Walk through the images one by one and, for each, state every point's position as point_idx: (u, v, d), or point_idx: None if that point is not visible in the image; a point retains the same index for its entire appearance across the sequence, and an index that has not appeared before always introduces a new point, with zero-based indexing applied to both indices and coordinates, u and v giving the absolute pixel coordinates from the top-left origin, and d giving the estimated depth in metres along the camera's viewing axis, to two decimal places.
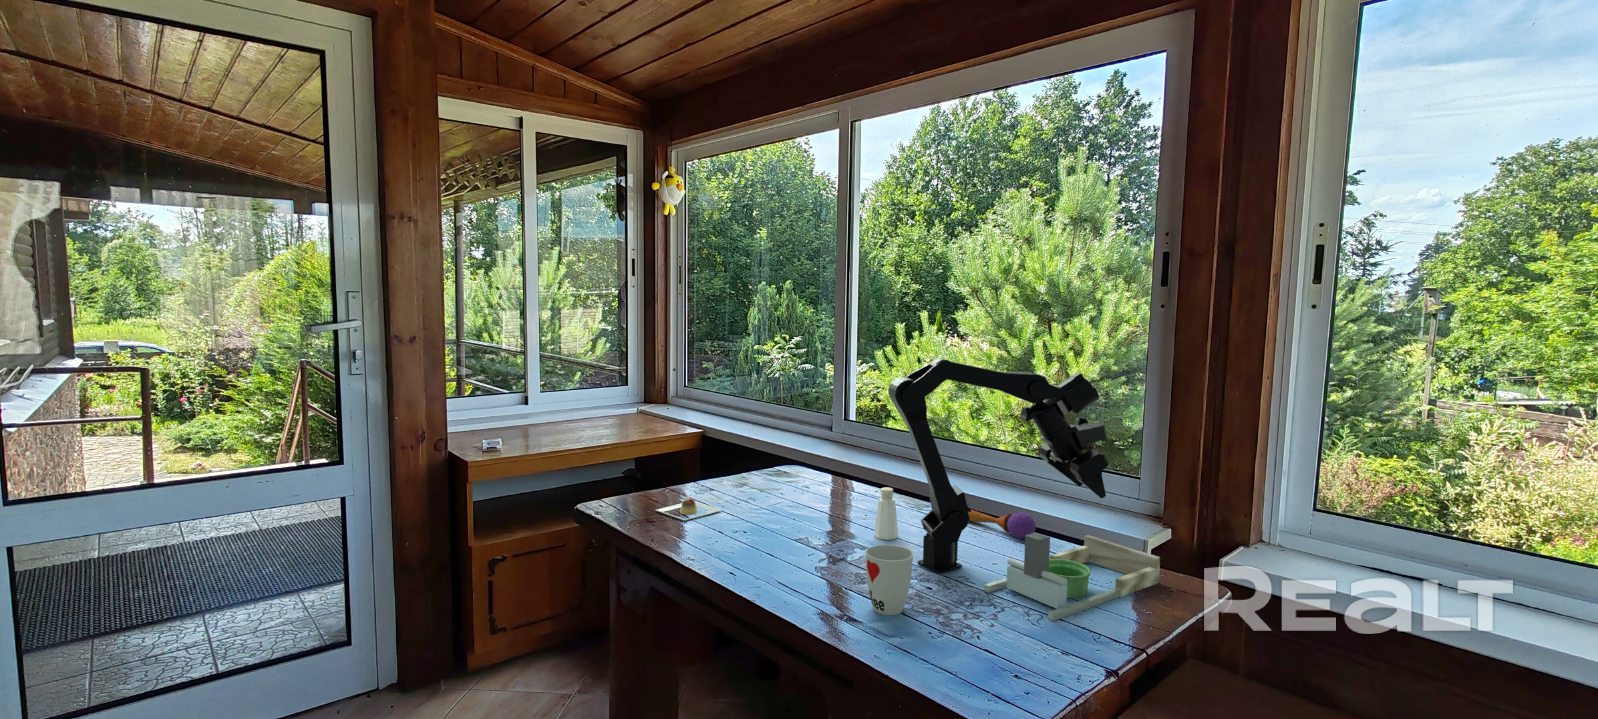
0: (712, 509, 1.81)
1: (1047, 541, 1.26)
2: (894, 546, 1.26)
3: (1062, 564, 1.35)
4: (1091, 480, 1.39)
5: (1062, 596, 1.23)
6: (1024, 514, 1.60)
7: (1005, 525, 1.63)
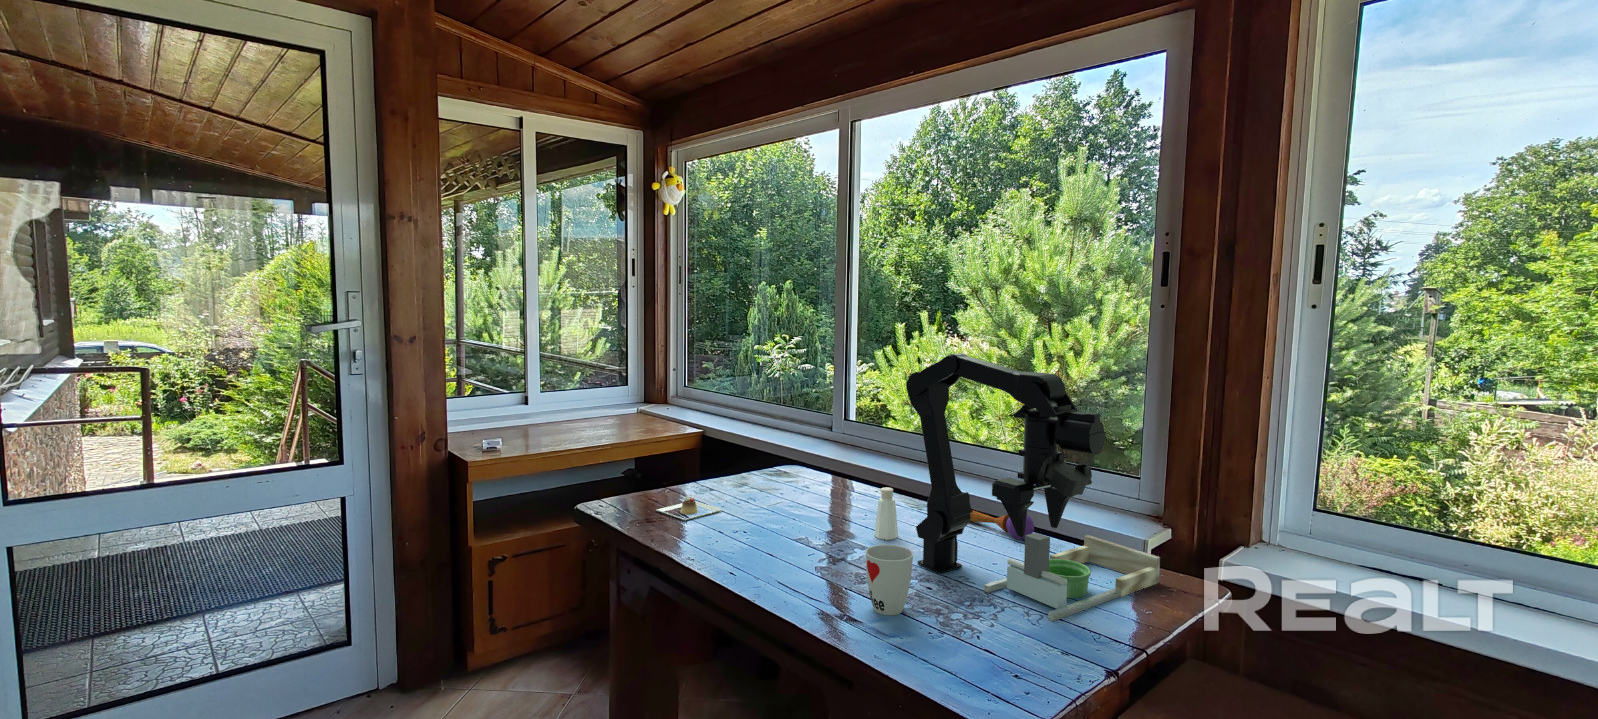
0: (712, 509, 1.81)
1: (1047, 541, 1.26)
2: (894, 546, 1.26)
3: (1062, 564, 1.35)
4: (1014, 509, 1.24)
5: (1062, 596, 1.23)
6: None
7: (1004, 525, 1.63)
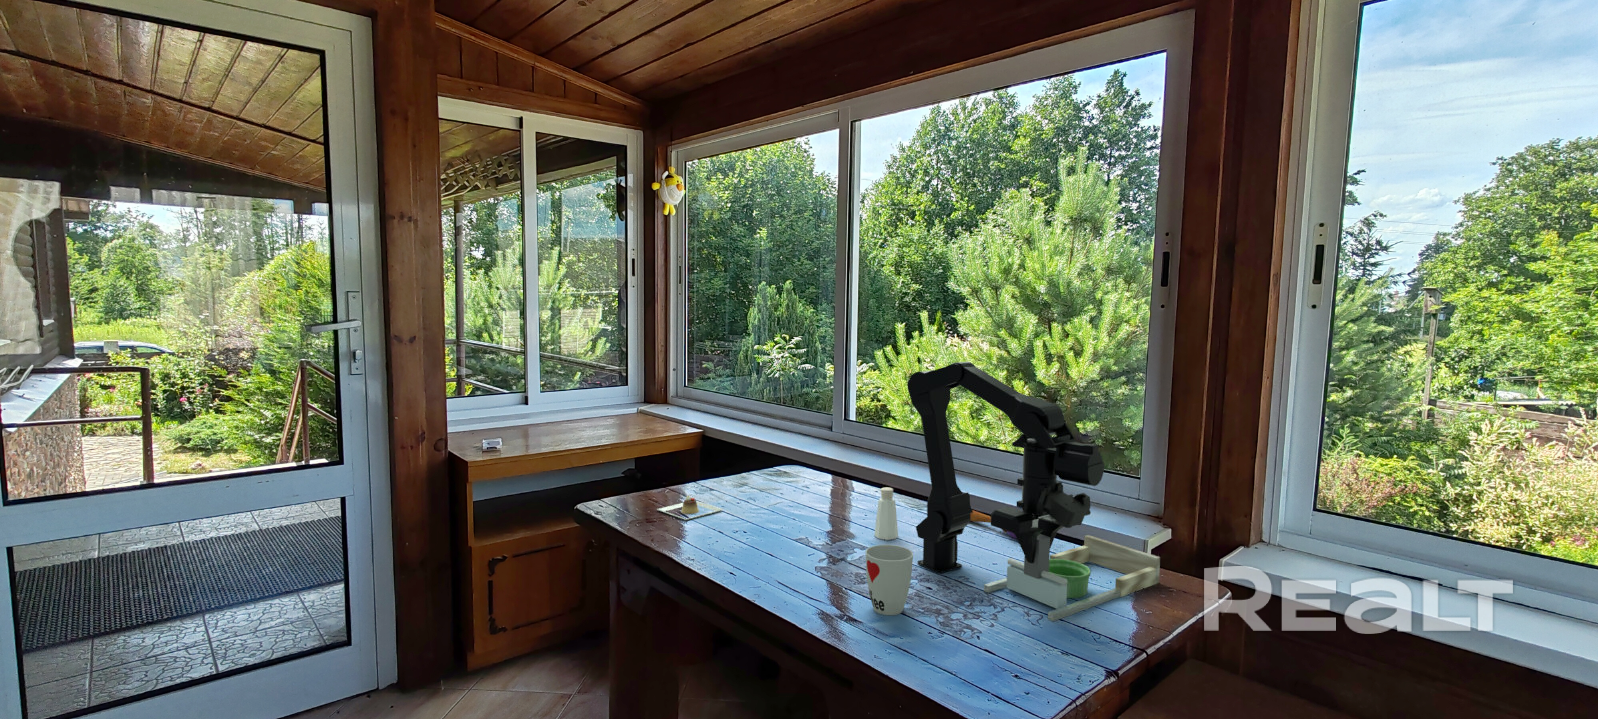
0: (713, 508, 1.81)
1: (1047, 541, 1.26)
2: (894, 546, 1.26)
3: (1062, 564, 1.35)
4: (1024, 536, 1.26)
5: (1062, 596, 1.23)
6: None
7: None
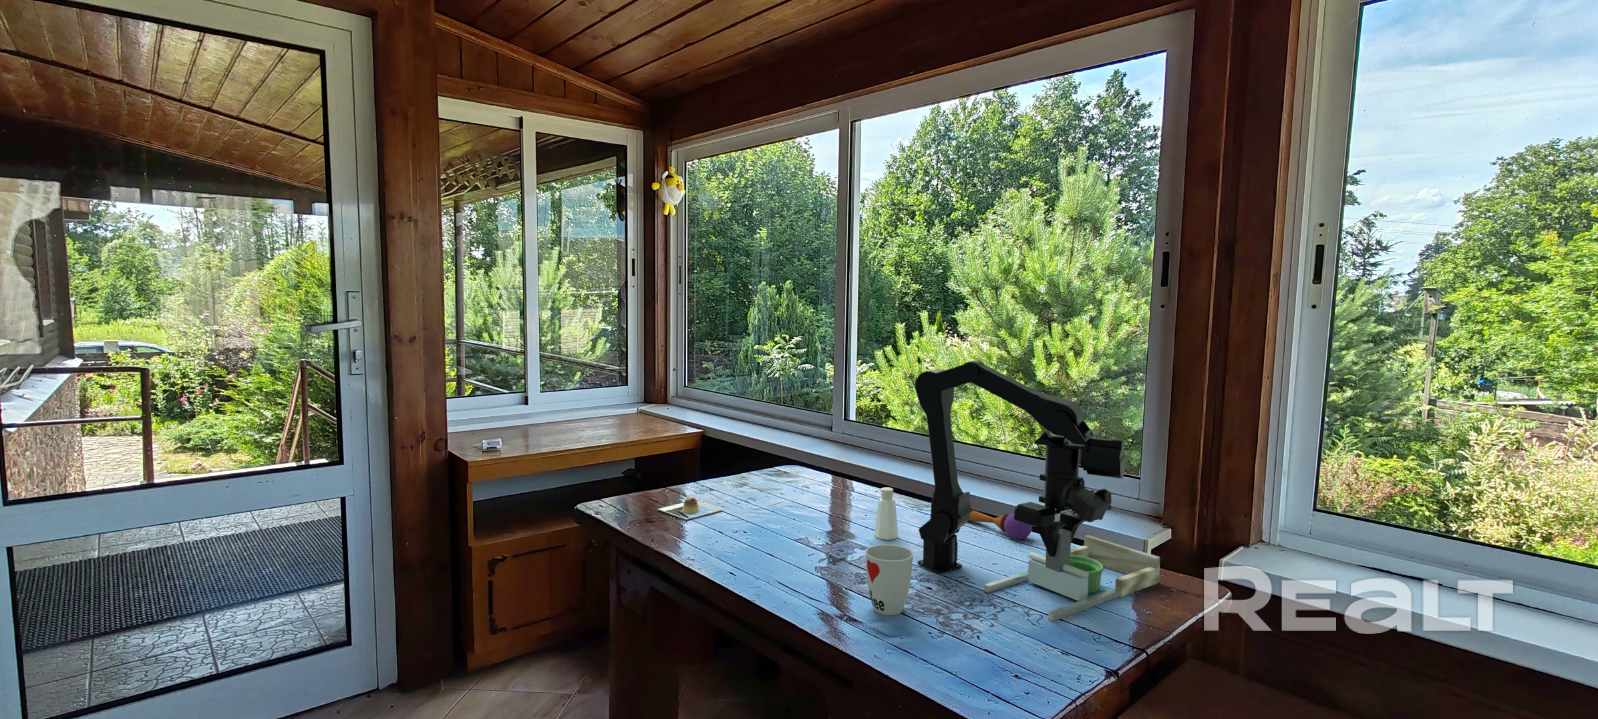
0: (714, 508, 1.82)
1: (1068, 535, 1.29)
2: (894, 546, 1.26)
3: (1075, 560, 1.37)
4: (1045, 530, 1.29)
5: (1083, 588, 1.26)
6: None
7: (1002, 525, 1.63)
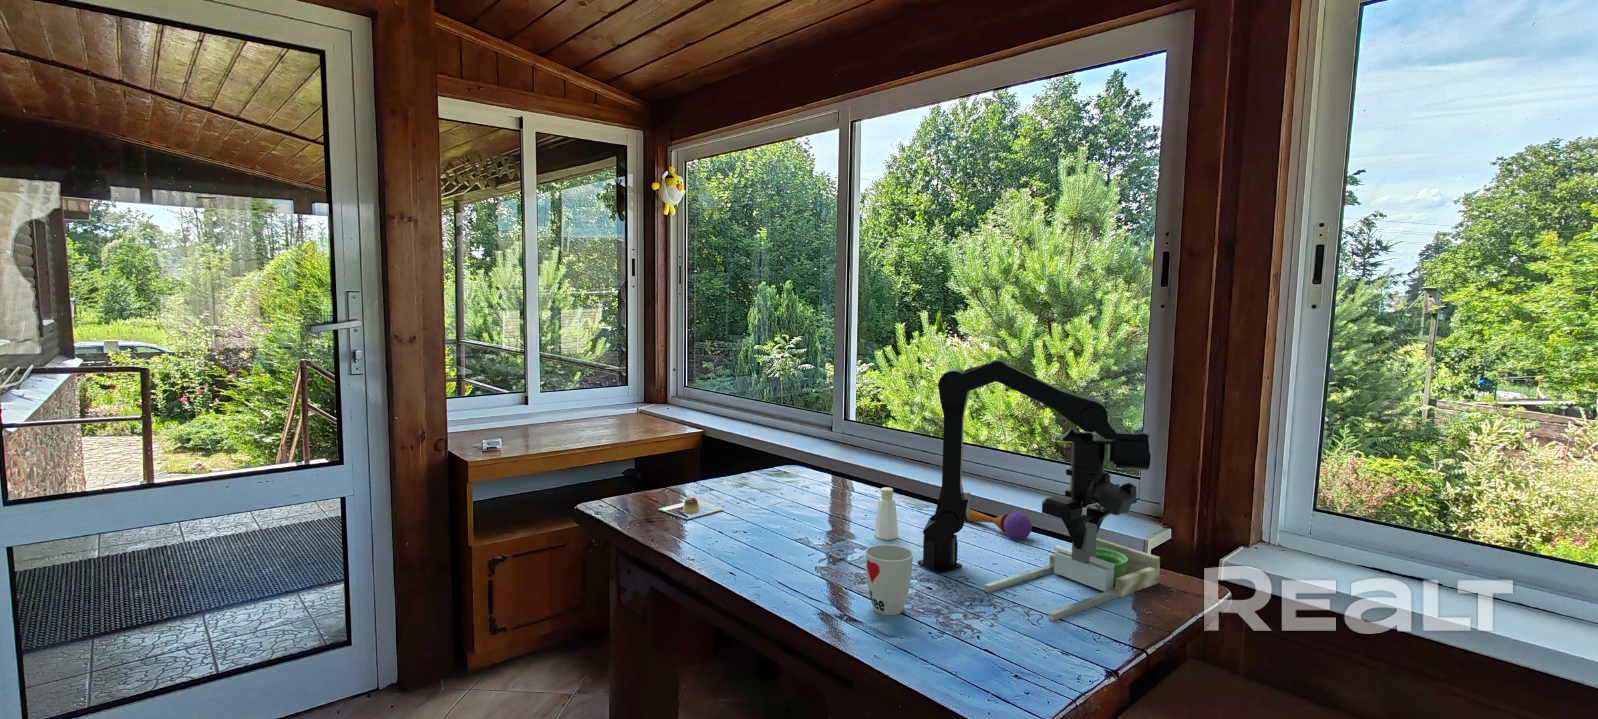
0: (714, 508, 1.82)
1: (1094, 528, 1.33)
2: (894, 546, 1.26)
3: (1100, 553, 1.41)
4: (1072, 523, 1.33)
5: (1109, 579, 1.30)
6: (1020, 514, 1.60)
7: (1002, 525, 1.63)
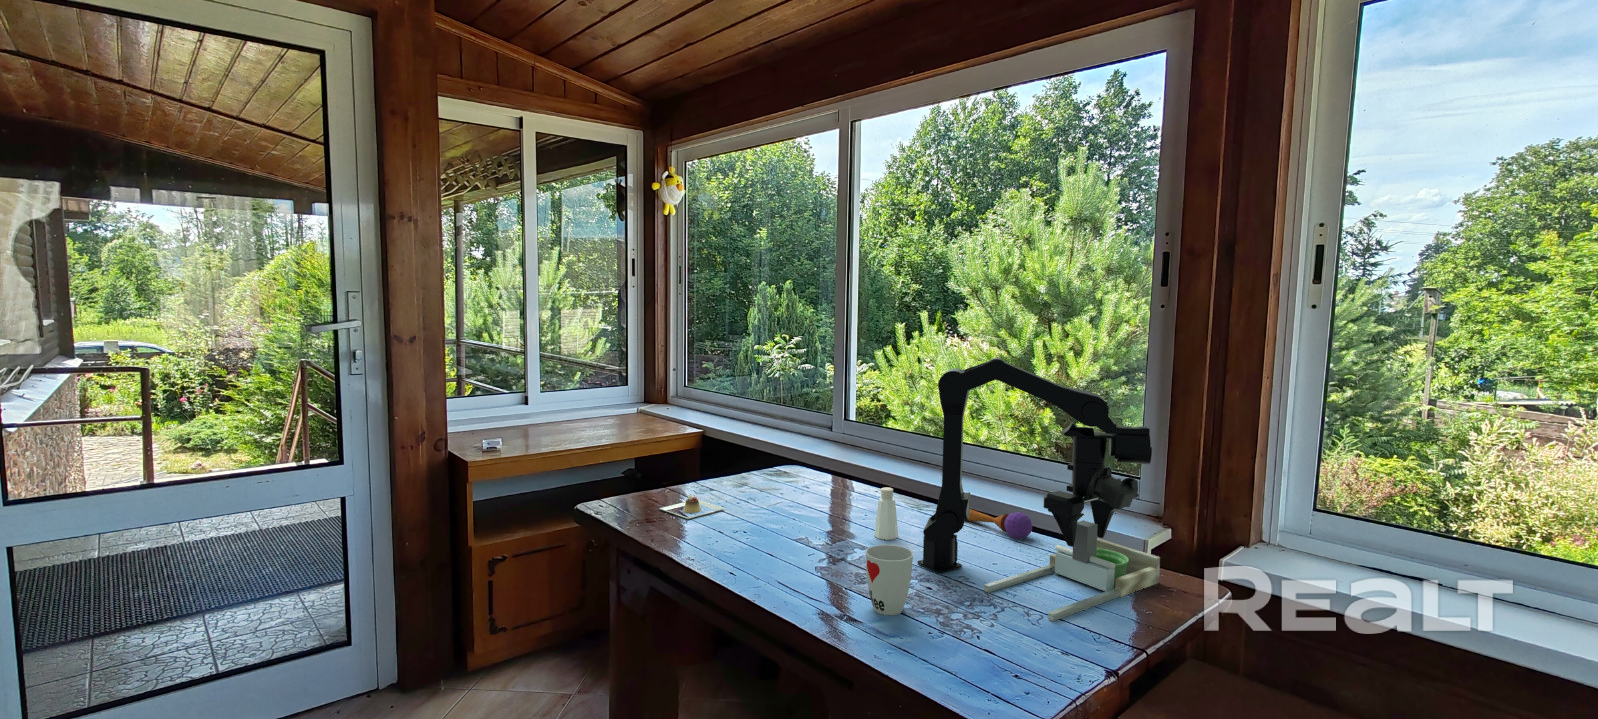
0: (715, 507, 1.82)
1: (1094, 527, 1.34)
2: (894, 546, 1.26)
3: (1101, 553, 1.41)
4: (1064, 520, 1.32)
5: (1110, 579, 1.30)
6: (1021, 514, 1.61)
7: (1002, 525, 1.63)
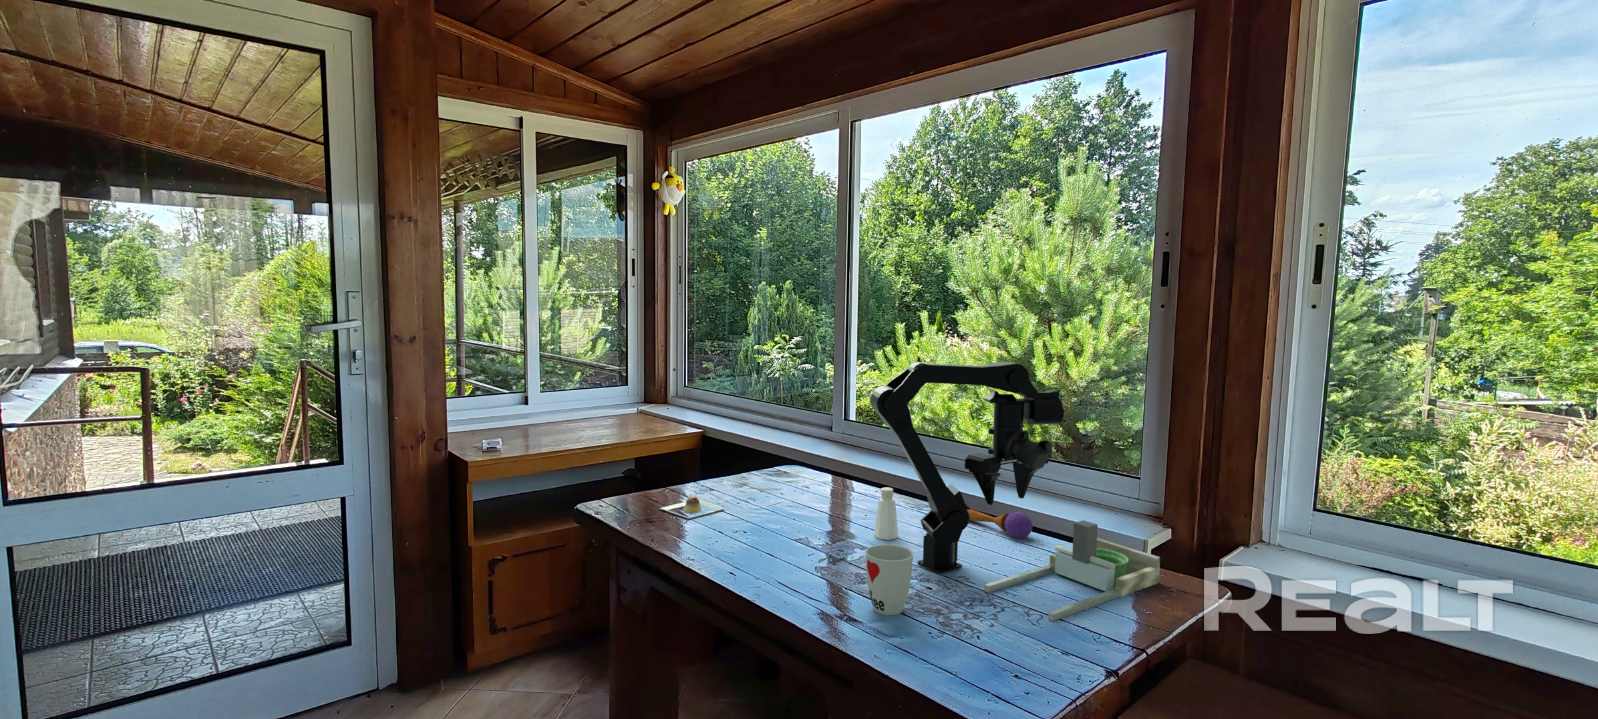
0: (716, 507, 1.83)
1: (1094, 527, 1.34)
2: (894, 546, 1.26)
3: (1101, 553, 1.41)
4: (984, 480, 1.41)
5: (1110, 579, 1.30)
6: (1021, 513, 1.61)
7: (1002, 524, 1.63)
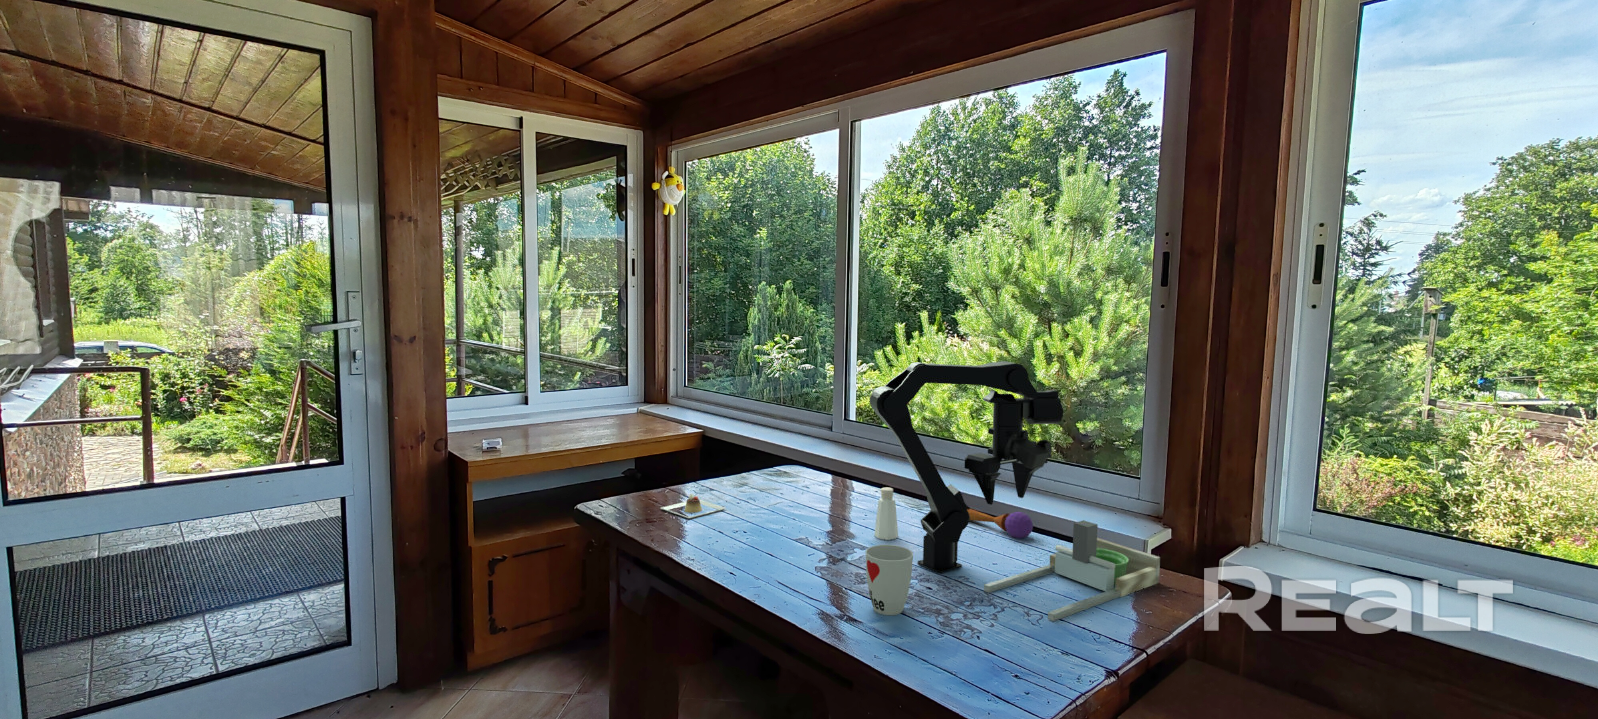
0: (716, 507, 1.83)
1: (1094, 527, 1.34)
2: (894, 546, 1.26)
3: (1101, 553, 1.41)
4: (983, 480, 1.41)
5: (1110, 579, 1.30)
6: (1021, 513, 1.61)
7: (1003, 524, 1.64)
